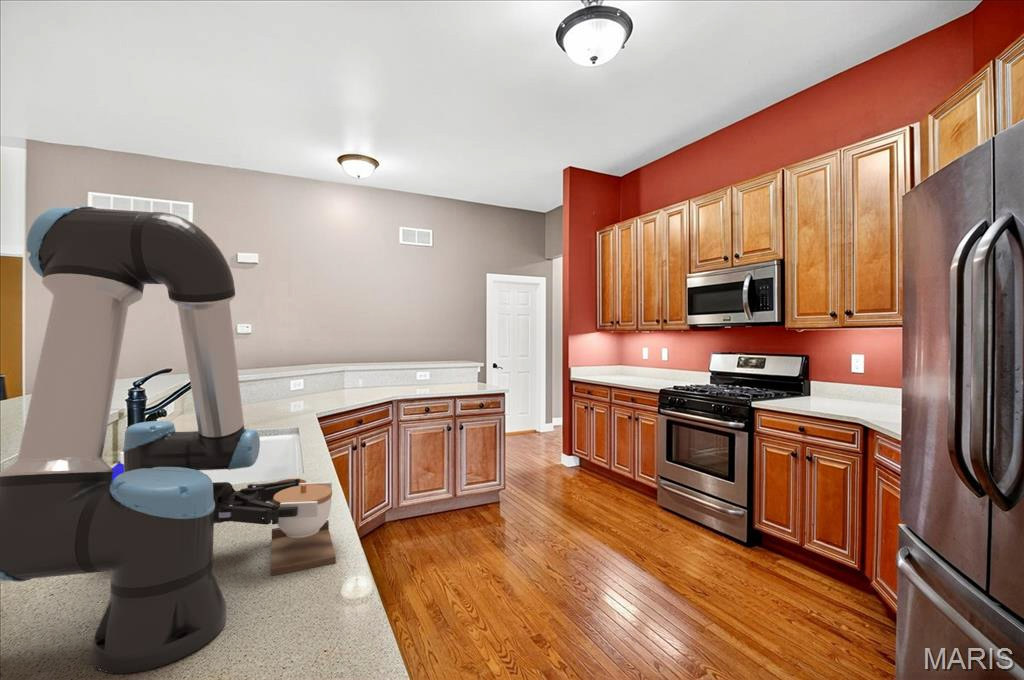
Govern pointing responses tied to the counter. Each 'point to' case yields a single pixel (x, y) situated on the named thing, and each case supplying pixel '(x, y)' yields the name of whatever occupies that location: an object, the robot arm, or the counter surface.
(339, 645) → the counter surface
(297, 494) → the lidded jar
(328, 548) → the walnut board
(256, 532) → the counter surface
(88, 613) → the counter surface
